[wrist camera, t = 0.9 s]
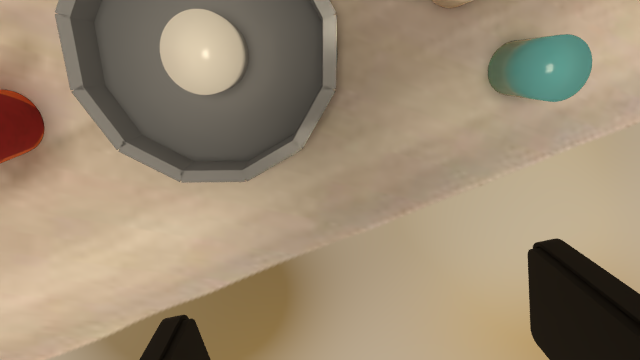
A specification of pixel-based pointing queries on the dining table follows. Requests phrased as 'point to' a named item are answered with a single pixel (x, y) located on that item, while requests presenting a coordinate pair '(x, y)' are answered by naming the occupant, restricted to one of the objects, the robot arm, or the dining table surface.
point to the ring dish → (195, 118)
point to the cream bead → (450, 3)
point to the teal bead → (541, 67)
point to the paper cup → (18, 125)
